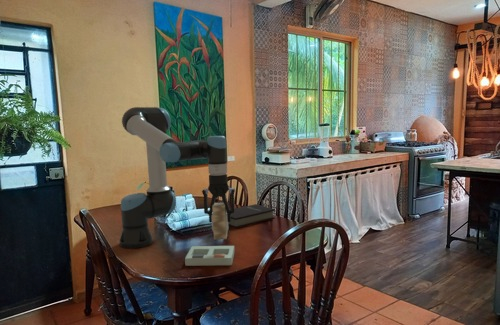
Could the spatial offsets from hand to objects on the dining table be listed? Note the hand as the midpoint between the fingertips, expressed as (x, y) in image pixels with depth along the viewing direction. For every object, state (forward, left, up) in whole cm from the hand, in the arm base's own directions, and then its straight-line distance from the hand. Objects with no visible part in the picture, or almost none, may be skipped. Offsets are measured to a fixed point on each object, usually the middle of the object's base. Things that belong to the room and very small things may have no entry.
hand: (220, 229), depth 143 cm
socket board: (-4, 0, -13) cm, 13 cm away
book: (+7, +58, -13) cm, 60 cm away
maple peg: (0, 0, -3) cm, 3 cm away
